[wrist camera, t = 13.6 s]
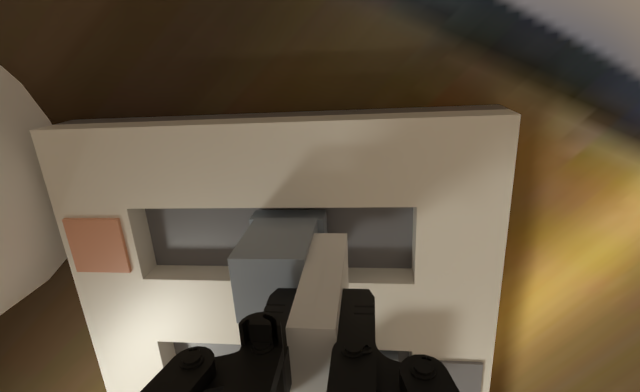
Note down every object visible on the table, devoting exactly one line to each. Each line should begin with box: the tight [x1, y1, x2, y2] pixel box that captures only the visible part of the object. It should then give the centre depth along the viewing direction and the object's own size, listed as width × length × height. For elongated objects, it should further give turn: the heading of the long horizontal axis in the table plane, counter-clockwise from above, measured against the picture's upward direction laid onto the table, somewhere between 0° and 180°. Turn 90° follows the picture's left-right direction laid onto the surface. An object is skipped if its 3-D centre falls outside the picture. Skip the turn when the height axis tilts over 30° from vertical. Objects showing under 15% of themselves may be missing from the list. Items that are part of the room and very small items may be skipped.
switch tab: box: [227, 210, 327, 323], centre depth 19 cm, size 4×3×5 cm
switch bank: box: [30, 104, 521, 392], centre depth 24 cm, size 22×28×3 cm
